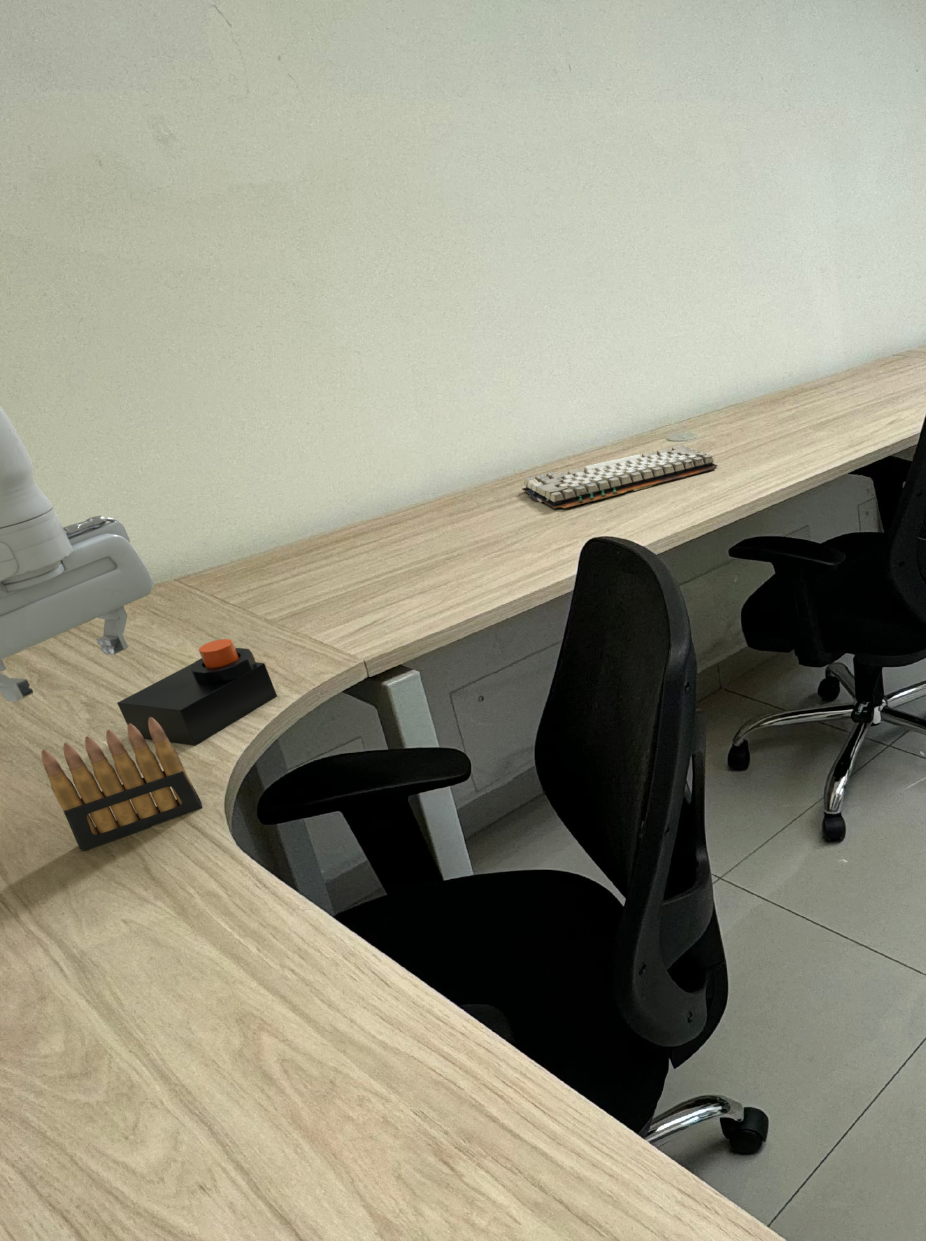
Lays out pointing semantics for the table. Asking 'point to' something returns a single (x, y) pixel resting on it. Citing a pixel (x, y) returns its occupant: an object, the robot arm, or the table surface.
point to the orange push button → (218, 653)
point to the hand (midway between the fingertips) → (70, 673)
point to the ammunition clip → (121, 787)
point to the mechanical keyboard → (616, 476)
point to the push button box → (200, 699)
